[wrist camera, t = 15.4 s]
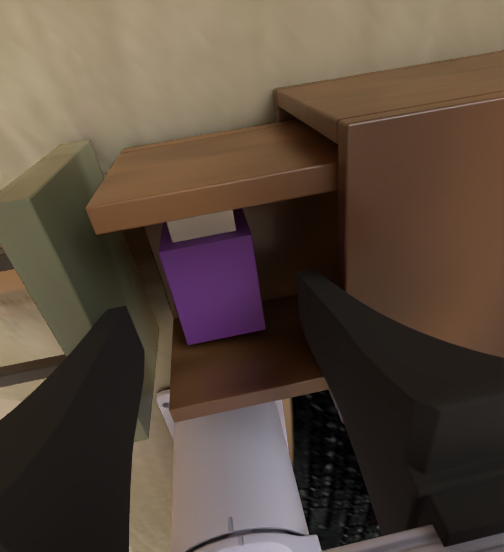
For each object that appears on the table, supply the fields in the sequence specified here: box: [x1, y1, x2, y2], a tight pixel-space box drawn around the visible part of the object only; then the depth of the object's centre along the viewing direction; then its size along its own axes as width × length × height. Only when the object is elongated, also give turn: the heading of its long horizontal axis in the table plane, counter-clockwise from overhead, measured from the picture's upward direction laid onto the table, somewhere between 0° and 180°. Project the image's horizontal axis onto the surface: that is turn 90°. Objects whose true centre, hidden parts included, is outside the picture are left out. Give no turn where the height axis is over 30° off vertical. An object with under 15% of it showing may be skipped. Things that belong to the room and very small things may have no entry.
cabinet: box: [274, 50, 504, 424], centre depth 15 cm, size 13×11×8 cm
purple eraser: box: [158, 208, 266, 345], centre depth 15 cm, size 6×3×3 cm, turn 7°
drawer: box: [0, 119, 338, 442], centre depth 14 cm, size 18×10×7 cm, turn 98°
